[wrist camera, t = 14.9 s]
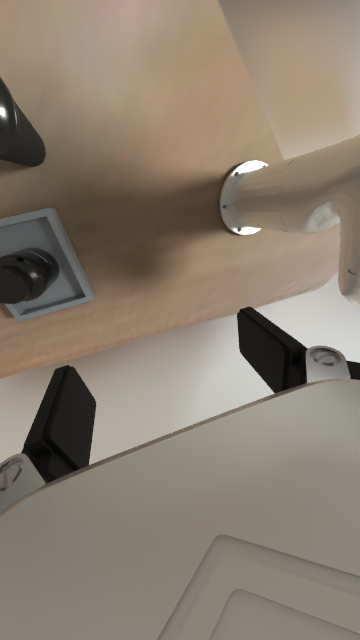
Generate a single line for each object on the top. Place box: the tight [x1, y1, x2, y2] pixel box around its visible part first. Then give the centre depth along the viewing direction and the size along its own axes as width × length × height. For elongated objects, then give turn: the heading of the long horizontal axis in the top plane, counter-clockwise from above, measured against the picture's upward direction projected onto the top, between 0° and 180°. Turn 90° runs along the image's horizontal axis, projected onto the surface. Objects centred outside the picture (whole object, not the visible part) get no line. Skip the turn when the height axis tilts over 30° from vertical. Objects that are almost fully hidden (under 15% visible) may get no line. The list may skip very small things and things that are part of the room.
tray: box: [0, 208, 95, 322], centre depth 35 cm, size 14×16×3 cm
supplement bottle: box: [0, 248, 60, 304], centre depth 31 cm, size 7×7×12 cm
